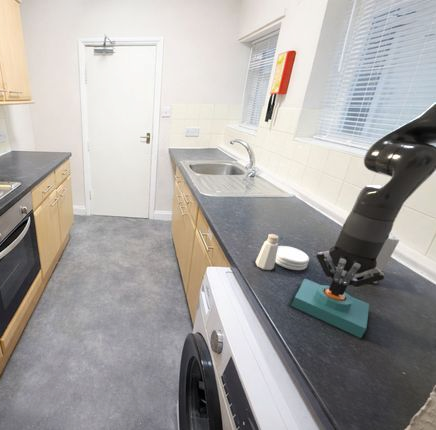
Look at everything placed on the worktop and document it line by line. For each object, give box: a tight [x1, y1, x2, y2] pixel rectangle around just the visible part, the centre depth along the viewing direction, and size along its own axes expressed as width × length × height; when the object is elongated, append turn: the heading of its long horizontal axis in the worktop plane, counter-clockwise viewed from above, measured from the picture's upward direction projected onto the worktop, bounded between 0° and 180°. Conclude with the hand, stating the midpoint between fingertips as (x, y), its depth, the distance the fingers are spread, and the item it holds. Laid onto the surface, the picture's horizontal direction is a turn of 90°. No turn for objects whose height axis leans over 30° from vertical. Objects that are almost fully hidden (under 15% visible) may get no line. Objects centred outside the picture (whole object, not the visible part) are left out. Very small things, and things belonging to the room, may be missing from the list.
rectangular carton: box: [335, 231, 400, 284], centre depth 80 cm, size 9×9×15 cm
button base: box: [291, 278, 370, 339], centre depth 67 cm, size 14×11×5 cm
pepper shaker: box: [255, 233, 279, 271], centre depth 83 cm, size 5×5×11 cm
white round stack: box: [275, 245, 310, 271], centre depth 87 cm, size 10×10×4 cm
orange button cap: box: [324, 288, 345, 301], centre depth 66 cm, size 4×4×2 cm
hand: (334, 293), depth 66 cm, fingers closed
